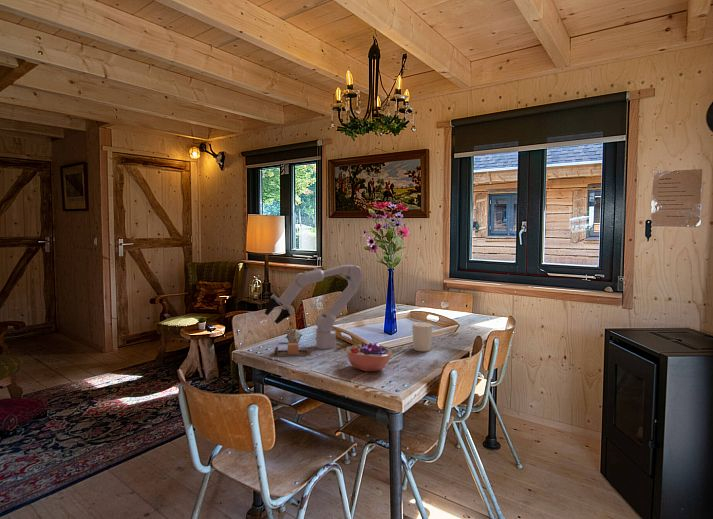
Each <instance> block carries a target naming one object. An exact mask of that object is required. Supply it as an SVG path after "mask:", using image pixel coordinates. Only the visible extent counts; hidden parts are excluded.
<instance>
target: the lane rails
mask: <svg viewBox="0 0 713 519" xmlns="http://www.w3.org/2000/svg"><path fill="white" fill-rule="evenodd" d="M278 352H288V349H278ZM298 352H308V350H307V349H298ZM273 357H274V358H287V357H291V358H292V357H307V356H306V354H297V355H274V354H273Z"/></svg>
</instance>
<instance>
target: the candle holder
mask: <svg viewBox="0 0 713 519" xmlns="http://www.w3.org/2000/svg"><path fill="white" fill-rule="evenodd" d="M411 326H412V329H411V330H412V346H413V350H414V351H418V352H429V351H431V349H432V339H433V326H434V325H433V323H431V322H425V321H422V322H421V321H418V322H412V323H411Z"/></svg>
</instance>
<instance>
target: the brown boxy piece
mask: <svg viewBox="0 0 713 519" xmlns="http://www.w3.org/2000/svg"><path fill="white" fill-rule="evenodd" d="M278 350H279V346H275V348H274V352H273V353H274V354H273V356H274V355H288V352H278ZM298 354H306V356H305V357H307V356H311V355H312V351H307V352H298Z"/></svg>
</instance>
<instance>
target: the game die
mask: <svg viewBox="0 0 713 519" xmlns="http://www.w3.org/2000/svg"><path fill="white" fill-rule="evenodd" d="M287 329H288V332H287V334H286V336H284V339H287V341H288V343H300V340H301V339H302V338H301V337H302V334H301V332H300V330H299V327H297V328H293V329H290V328H287Z"/></svg>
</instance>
